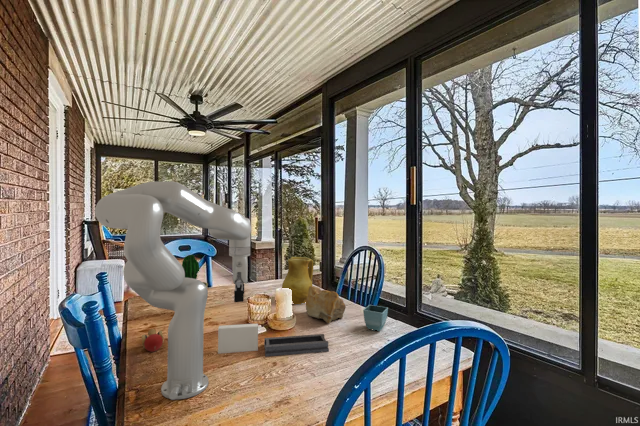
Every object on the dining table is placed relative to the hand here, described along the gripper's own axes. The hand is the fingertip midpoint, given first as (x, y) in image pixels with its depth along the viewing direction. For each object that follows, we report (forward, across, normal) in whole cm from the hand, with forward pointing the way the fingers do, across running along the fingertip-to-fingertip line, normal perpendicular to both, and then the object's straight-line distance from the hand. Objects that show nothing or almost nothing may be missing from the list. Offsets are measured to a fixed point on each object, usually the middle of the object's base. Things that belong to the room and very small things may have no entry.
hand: (239, 297), depth 116 cm
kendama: (+20, +10, +32) cm, 39 cm away
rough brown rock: (+20, +28, -41) cm, 53 cm away
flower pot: (+20, +11, -58) cm, 62 cm away
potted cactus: (+20, +42, +24) cm, 52 cm away
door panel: (+19, 0, 0) cm, 19 cm away
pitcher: (+20, +56, -30) cm, 67 cm away
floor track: (+19, -2, -21) cm, 28 cm away
